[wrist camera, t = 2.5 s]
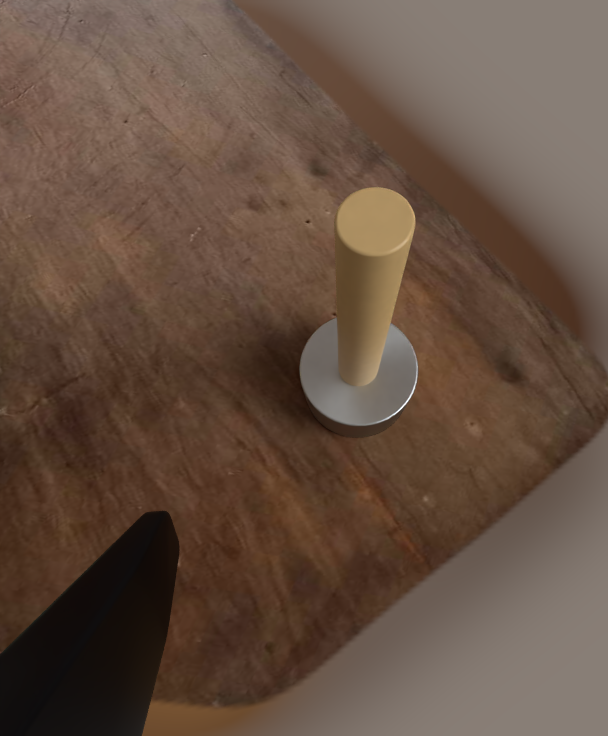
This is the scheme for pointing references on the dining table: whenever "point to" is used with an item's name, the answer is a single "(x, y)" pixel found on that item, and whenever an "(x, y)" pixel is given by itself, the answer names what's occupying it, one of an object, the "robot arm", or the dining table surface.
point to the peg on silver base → (364, 321)
